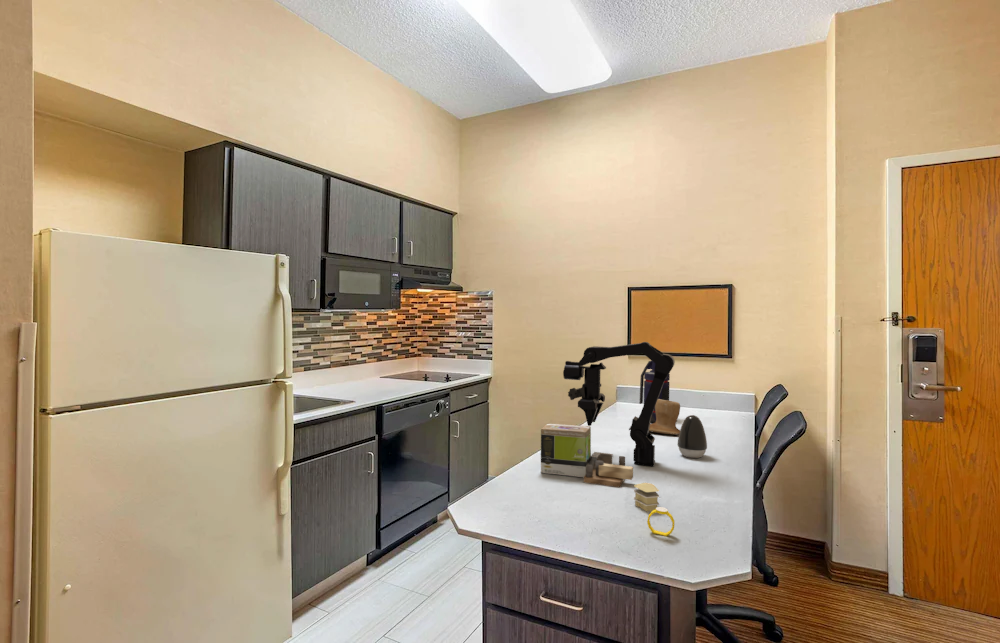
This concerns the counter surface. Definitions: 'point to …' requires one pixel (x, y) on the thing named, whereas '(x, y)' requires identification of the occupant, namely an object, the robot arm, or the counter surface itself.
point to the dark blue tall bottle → (647, 384)
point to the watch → (661, 511)
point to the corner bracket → (600, 458)
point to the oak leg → (614, 470)
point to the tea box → (565, 449)
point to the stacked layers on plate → (646, 496)
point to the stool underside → (603, 480)
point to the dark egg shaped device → (692, 438)
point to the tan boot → (666, 417)
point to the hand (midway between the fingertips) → (591, 423)
